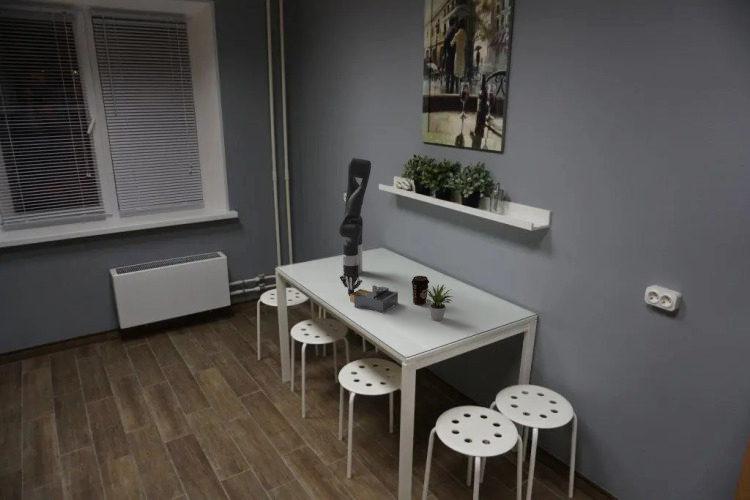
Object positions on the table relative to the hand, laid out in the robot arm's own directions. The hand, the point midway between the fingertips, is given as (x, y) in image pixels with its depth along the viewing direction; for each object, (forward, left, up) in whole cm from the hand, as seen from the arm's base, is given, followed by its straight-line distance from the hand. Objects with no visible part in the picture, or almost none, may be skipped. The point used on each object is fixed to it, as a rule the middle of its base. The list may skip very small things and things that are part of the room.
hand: (351, 295), depth 248 cm
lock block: (+6, +1, -2) cm, 6 cm away
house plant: (+47, 0, -1) cm, 47 cm away
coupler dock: (+15, 0, -1) cm, 15 cm away
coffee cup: (+32, +13, -1) cm, 34 cm away
